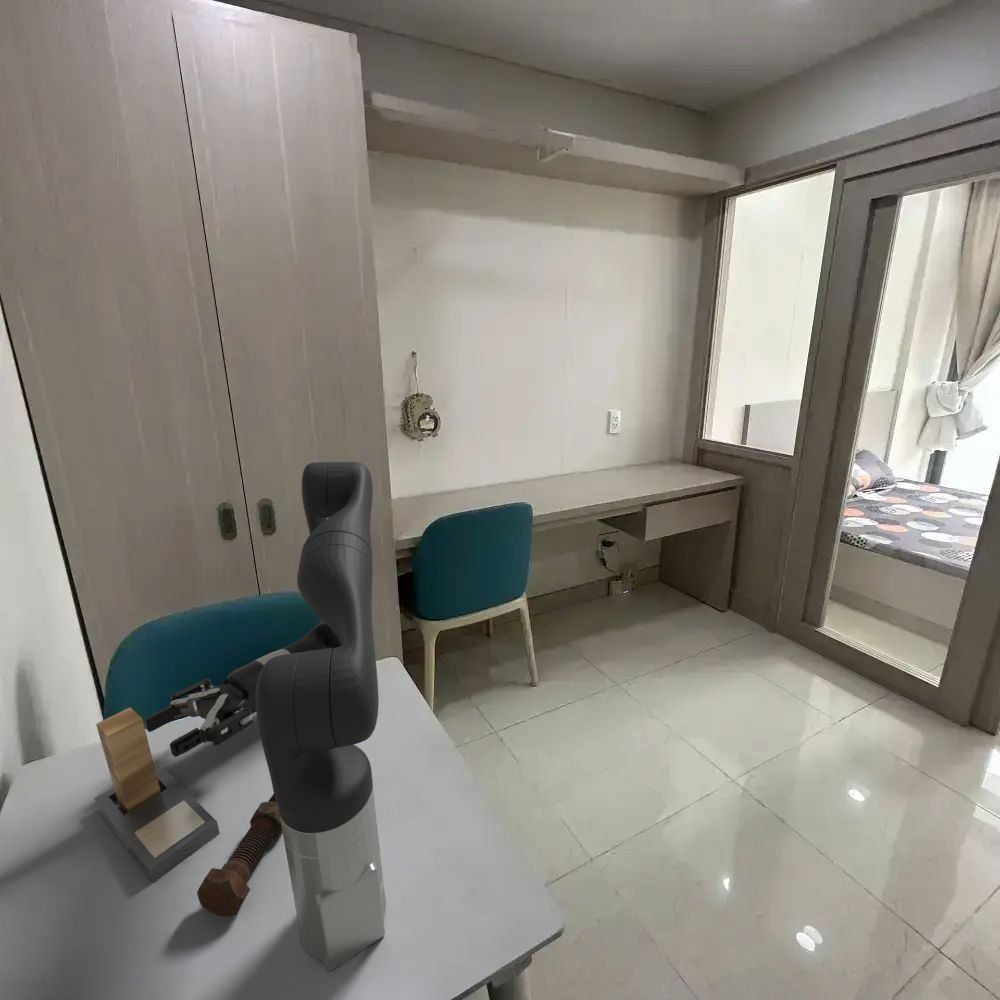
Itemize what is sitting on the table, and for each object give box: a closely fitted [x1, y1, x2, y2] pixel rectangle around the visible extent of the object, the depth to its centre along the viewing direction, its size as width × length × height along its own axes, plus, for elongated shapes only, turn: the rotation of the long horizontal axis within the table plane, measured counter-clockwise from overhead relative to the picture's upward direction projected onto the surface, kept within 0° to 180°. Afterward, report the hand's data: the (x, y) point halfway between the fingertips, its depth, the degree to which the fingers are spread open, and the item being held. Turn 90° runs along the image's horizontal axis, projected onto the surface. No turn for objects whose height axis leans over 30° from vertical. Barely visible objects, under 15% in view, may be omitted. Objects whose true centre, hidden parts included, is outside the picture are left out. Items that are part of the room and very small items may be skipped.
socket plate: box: [93, 761, 221, 883], centre depth 70 cm, size 18×8×2 cm, turn 55°
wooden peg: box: [95, 707, 162, 815], centre depth 71 cm, size 4×4×14 cm
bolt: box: [196, 793, 283, 917], centre depth 65 cm, size 6×5×15 cm
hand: (158, 738), depth 73 cm, fingers open, 8 cm apart
